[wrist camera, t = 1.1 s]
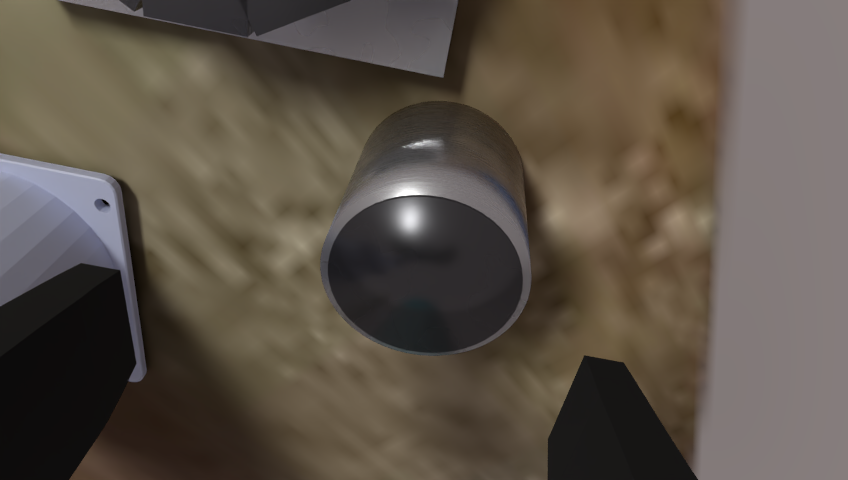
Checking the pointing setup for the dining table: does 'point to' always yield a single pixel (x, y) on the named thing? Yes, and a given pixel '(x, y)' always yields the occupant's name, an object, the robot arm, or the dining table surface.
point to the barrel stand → (319, 25)
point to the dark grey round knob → (431, 233)
